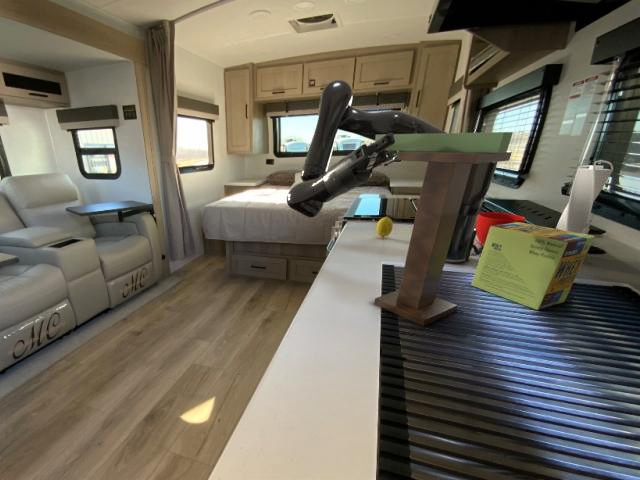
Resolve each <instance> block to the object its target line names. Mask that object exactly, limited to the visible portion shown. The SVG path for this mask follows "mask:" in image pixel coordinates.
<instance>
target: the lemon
mask: <svg viewBox="0 0 640 480" xmlns="http://www.w3.org/2000/svg"><path fill="white" fill-rule="evenodd" d="M393 226H394V225H393V220H392V219H391V218H390V217H388V216H385V217H382V218H380V219H379V220H378V222H377V224H376V228H375V229H376V233H377V235H378V236H380V237H381V239H384V238H385V237H387V236H389V235H390V234H391V233H392V231H393V228H394V227H393Z"/></svg>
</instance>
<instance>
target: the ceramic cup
mask: <svg viewBox="0 0 640 480" xmlns="http://www.w3.org/2000/svg"><path fill="white" fill-rule="evenodd" d="M517 222H520V223H525V222H526V217H524V216H522V215H518V214H514V213H506V212H493V211H492V212H491V211H488V212H479V216H478V219H477V222H476V226H475V230H477V234H476V238H477V240H478V241H479V243H480V245H481V246H484V245H485V242H486V239H487V236H488V233H489V230H490V227H491V226H494V225H502V224H509V223H517Z"/></svg>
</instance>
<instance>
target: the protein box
mask: <svg viewBox="0 0 640 480" xmlns="http://www.w3.org/2000/svg"><path fill="white" fill-rule="evenodd" d="M595 238H596V235H592V234H580V233H575V232H569V231H564V230H559V229H556V228H555V227H553V228H552V227H547V226H542V225H536V224H530V223H525V222H524V223H520V222H517V223H509V224H502V225H494V226H491V227H490V230H489V233H488V236H487V239H486V242H485V245H483V246H484V248H483V250H482V251H481V254H480V257H479V261H478V264H477V266H476V268H475V272H474V275H473V278H472V281H471V284H470V285H471V286H472V287H474V288H477V289H480V290H482V291H485V292H488V293H491V294H493V295H496V296H498V297H500V298H503V299H506V300H508V301H511V302H514V303H516V304H519V305H522V306H525V307H528V308H530V309H533V310H536V311H540V310H543V309H546V308H550V307H552V306H555V305H556V306H557V305H559V304H562V303H564V302H566V299H567V297H568V295H569V293H570V291H571V289H572V286H573V284H574V282H575V280H576V278H577V275H578V273H579V272H580V269H581V267H582V265H583V263H584V260H585V258H586V256H587V255H588V252H589V250H590V248H591V246H592V243H593V241H594V240H595Z"/></svg>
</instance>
